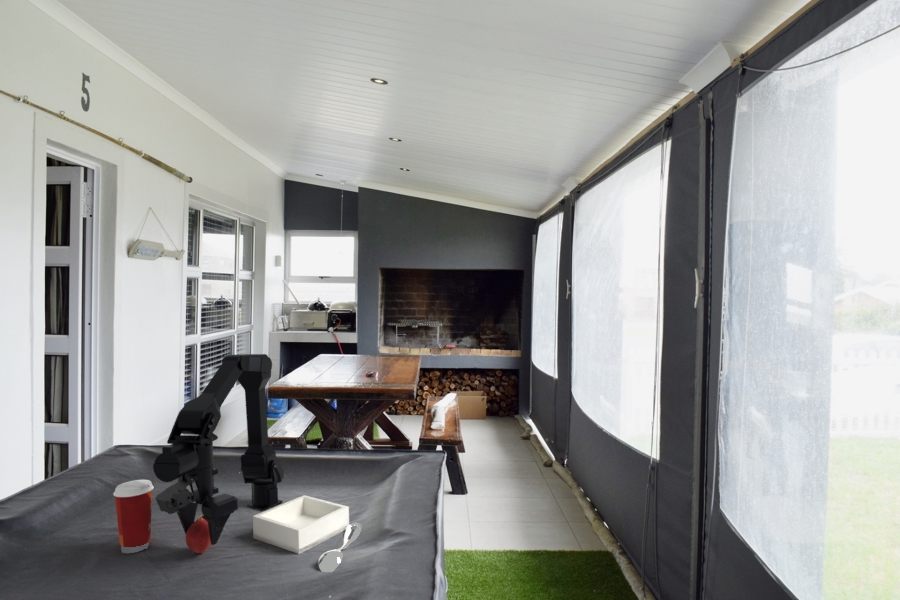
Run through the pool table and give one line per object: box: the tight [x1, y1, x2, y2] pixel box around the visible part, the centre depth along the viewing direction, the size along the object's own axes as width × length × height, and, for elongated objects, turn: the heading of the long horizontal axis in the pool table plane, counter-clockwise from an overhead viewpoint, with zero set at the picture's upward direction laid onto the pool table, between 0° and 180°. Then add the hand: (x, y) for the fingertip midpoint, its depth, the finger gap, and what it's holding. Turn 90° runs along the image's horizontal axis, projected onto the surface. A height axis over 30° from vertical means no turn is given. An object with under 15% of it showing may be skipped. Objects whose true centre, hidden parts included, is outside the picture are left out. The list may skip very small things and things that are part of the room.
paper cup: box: [112, 479, 155, 547], centre depth 122 cm, size 8×8×14 cm
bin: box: [252, 494, 350, 555], centre depth 128 cm, size 15×15×5 cm
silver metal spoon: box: [318, 521, 363, 573], centre depth 119 cm, size 20×4×5 cm
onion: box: [185, 514, 212, 554], centre depth 119 cm, size 6×6×8 cm
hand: (200, 539), depth 119 cm, fingers open, 9 cm apart
